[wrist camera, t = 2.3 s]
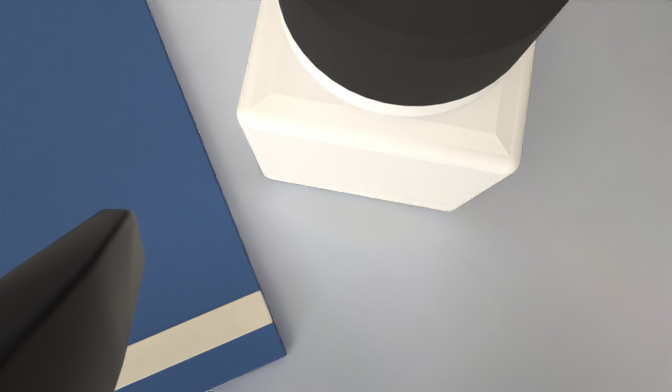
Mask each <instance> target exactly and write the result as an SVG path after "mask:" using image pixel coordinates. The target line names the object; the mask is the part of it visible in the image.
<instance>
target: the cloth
mask: <svg viewBox="0 0 672 392" xmlns="http://www.w3.org/2000/svg"><path fill="white" fill-rule="evenodd" d="M103 209H129V210H131V211H132V212H134V214H135V216H136V218H137V222H138V227H139V232H140V236H141V241H142V245H143V250H144V256H145V265H144V272H143V277H142V281H141V286H140V291H139V295H138V300H137V304H136V309H135V314H134V318H133V323H132V328H131V332H130V337H129V341H128V346H127V350H126V354H125V359H124V363H123V366H122V369H121V373H120V376H119V379H118V382H117V385H116V388H115V391H114V392H204V391H207V390H209V389H211V388H214V387H216V386H218V385H220V384H223V383H225V382H227V381H230V380H232V379H234V378H236V377H239V376H241V375H243V374H246V373H248V372H250V371H252V370H255V369H257V368H259V367H262V366H264V365H266V364H268V363H271V362H273V361H275V360H278V359H280V358H282V357H284V356H286V354H287V353H286V351H285V348H284V346H283V343H282V341H281V338H280V336H279V333H278V331H277V328H276V326H275V323H274V321H273V318H272V316H271V313H270V311H269V308H268V306H267V303H266V301H265V298H264V296H263V293H262V291H261V288H260V286H259V283H258V281H257V278H256V275H255V273H254V270H253V268H252V265H251V263H250V260H249V258H248V255H247V253H246V250H245V248H244V245H243V243H242V240H241V238H240V235H239V233H238V230H237V228H236V225H235V223H234V220H233V218H232V215H231V213H230V210H229V208H228V205H227V203H226V200H225V198H224V195H223V193H222V190H221V188H220V185H219V183H218V180H217V178H216V175H215V173H214V170H213V168H212V165H211V163H210V160H209V158H208V155H207V153H206V150H205V148H204V145H203V143H202V140H201V138H200V135H199V133H198V130H197V128H196V125H195V123H194V120H193V118H192V115H191V113H190V110H189V108H188V105H187V103H186V100H185V98H184V95H183V93H182V90H181V88H180V85H179V83H178V80H177V78H176V75H175V73H174V70H173V67H172V65H171V62H170V60H169V57H168V55H167V52H166V50H165V47H164V45H163V42H162V40H161V37H160V35H159V32H158V30H157V27H156V25H155V22H154V20H153V17H152V15H151V12H150V10H149V7H148V5H147V2H146V0H0V278H1V277H3V276H4V275H6V274H7V273H9V272H10V271H12V270H13V269H14V268H16V267H17V266H19V265H20V264H22V263H23V262H25V261H26V260H28V259H29V258H31V257H32V256H34V255H35V254H37V253H38V252H40V251H41V250H43V249H44V248H46V247H47V246H49V245H50V244H52V243H53V242H54V241H56V240H57V239H59V238H60V237H62V236H63V235H65V234H66V233H68V232H69V231H71V230H72V229H74V228H75V227H77V226H78V225H80V224H81V223H83V222H84V221H86V220H87V219H89V218H90V217H92V216H93V215H94V214H96V213H97V212H99V211H101V210H103Z"/></svg>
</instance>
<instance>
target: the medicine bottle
mask: <svg viewBox="0 0 672 392" xmlns="http://www.w3.org/2000/svg"><path fill="white" fill-rule="evenodd" d="M568 1H569V0H261V4H260V8H259V13H258V18H257V22H256V27H255V31H254V36H253V40H252V45H251V49H250V54H249V58H248V63H247V68H246V72H245V77H244V81H243V86H242V90H241V95H240V99H239V104H238V108H237V119H238V121H239V123H240V125H241V128H242V130H243V132H244V134H245V136H246V138H247V140H248V142H249V144H250V147H251V149H252V151H253V153H254V155H255V157H256V159H257V161H258V163H259V166H260V168H261V170H262V172H263V173H264V175H265V176H266V177H268V178H270V179H274V180H279V181H285V182H290V183H295V184H301V185H306V186H312V187H317V188H323V189H328V190H334V191H339V192H345V193H350V194H355V195H361V196H366V197H372V198H377V199H383V200H388V201H394V202H399V203H404V204H410V205H415V206H421V207H426V208H432V209H437V210H443V211H452V210H454V209H456V208H457V207H459V206H460V205H462V204H464V203H465V202H467V201H469V200H470V199H472V198H473V197H475V196H477V195H478V194H480V193H481V192H483V191H485V190H486V189H488V188H489V187H491V186H493V185H494V184H496V183H497V182H499V181H501V180H502V179H504V178H505V177H507V176H509V175H510V174H512V173H513V172H515V171H516V170H517V168H518V166H519V164H520V160H521V152H522V145H523V137H524V129H525V121H526V114H527V106H528V98H529V90H530V83H531V75H532V67H533V60H534V52H535V44H536V39H537V37H538V36H539V35H540V34H541V33H542V31H543V30H544V29H545V28H546V27H547V26H548V24H549V23H550V22H551V21H552V20H553V19H554V17H555V16H556V15H557V14H558V13H559V12H560V10H561V9H562V8H563V7H564V6H565V4H566V3H567V2H568Z"/></svg>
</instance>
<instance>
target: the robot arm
mask: <svg viewBox="0 0 672 392" xmlns="http://www.w3.org/2000/svg"><path fill="white" fill-rule="evenodd" d="M144 265H145V256H144V250H143V245H142V241H141V236H140V232H139V227H138V222H137V218H136V216H135V214H134V212H132V211H131V210H129V209H103V210H101V211H99V212H97V213H96V214H94V215H93V216H92V217H90V218H89V219H87V220H86V221H84V222H83V223H81V224H80V225H78V226H77V227H75V228H74V229H72V230H71V231H69V232H68V233H66V234H65V235H63V236H62V237H60V238H59V239H57V240H56V241H54V242H53V243H52V244H50V245H49V246H47V247H46V248H44V249H43V250H41V251H40V252H38V253H37V254H35V255H34V256H32V257H31V258H29V259H28V260H26V261H25V262H23V263H22V264H20V265H19V266H17V267H16V268H14V269H13V270H12V271H10V272H9V273H7V274H6V275H4V276H3V277H1V278H0V392H114V391H115V388H116V385H117V382H118V379H119V376H120V373H121V369H122V366H123V363H124V359H125V354H126V350H127V346H128V341H129V337H130V332H131V328H132V323H133V318H134V314H135V309H136V304H137V300H138V295H139V291H140V286H141V281H142V277H143V272H144Z"/></svg>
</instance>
